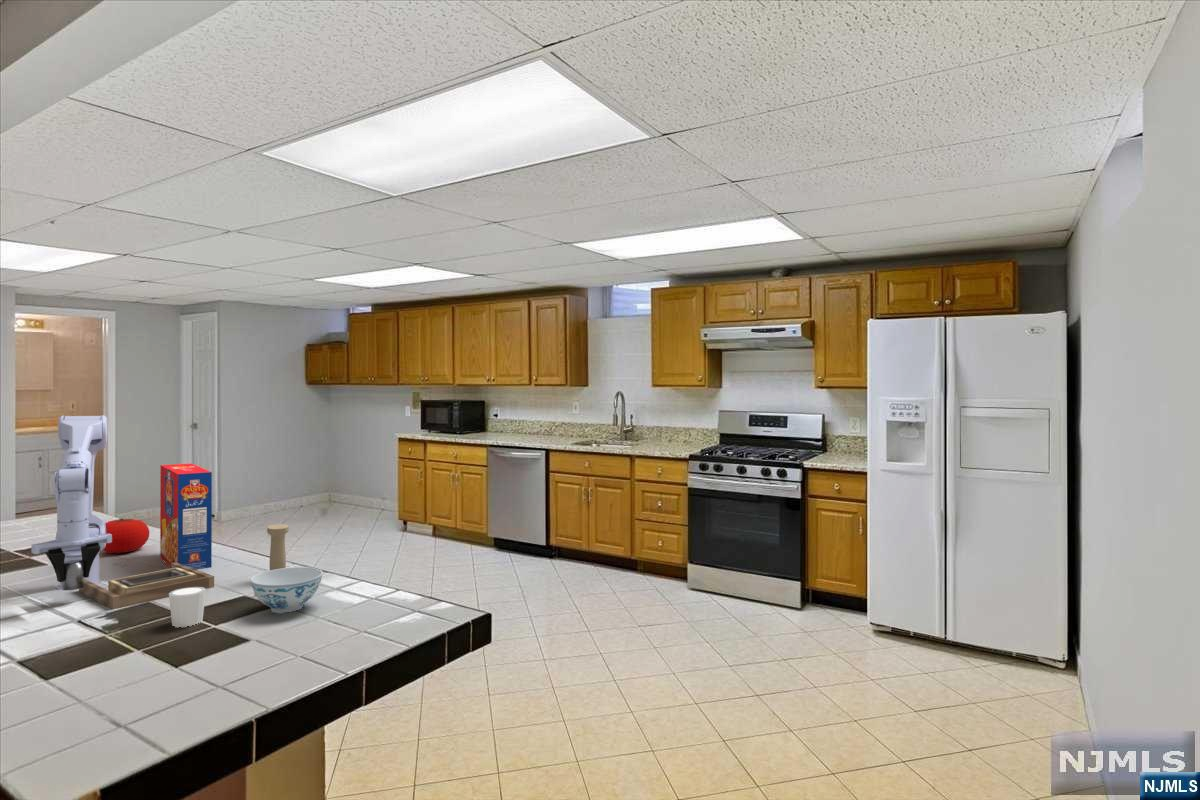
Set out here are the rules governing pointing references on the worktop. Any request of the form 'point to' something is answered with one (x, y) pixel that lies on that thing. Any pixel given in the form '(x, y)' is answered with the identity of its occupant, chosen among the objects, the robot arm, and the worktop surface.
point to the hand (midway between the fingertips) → (73, 579)
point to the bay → (145, 590)
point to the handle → (277, 546)
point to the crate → (149, 580)
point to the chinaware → (286, 587)
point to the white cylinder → (187, 606)
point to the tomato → (126, 535)
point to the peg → (73, 575)
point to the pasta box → (186, 515)
